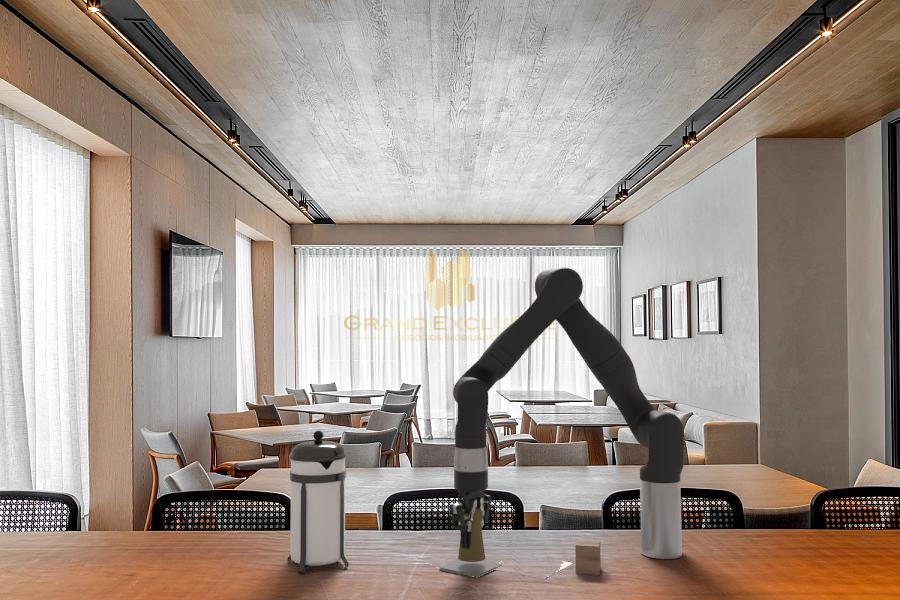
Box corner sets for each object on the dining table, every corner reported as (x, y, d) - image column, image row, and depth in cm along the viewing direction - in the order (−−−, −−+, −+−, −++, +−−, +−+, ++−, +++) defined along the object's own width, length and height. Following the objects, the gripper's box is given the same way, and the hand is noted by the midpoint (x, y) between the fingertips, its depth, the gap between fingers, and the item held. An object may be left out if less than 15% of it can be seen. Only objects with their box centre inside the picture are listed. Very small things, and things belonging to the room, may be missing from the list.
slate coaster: (464, 559, 175) (464, 556, 175) (502, 566, 170) (502, 563, 170) (439, 570, 167) (439, 567, 167) (478, 578, 161) (478, 575, 161)
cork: (483, 562, 165) (482, 511, 166) (455, 561, 166) (455, 510, 167) (487, 554, 171) (486, 505, 171) (460, 553, 172) (460, 504, 173)
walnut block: (577, 566, 170) (577, 539, 170) (600, 568, 168) (600, 540, 169) (575, 573, 165) (575, 545, 165) (599, 575, 164) (598, 546, 164)
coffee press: (366, 559, 175) (366, 428, 177) (326, 579, 161) (327, 436, 163) (303, 551, 183) (304, 424, 184) (260, 569, 168) (261, 432, 170)
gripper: (467, 473, 161) (468, 556, 161) (501, 464, 173) (502, 541, 172) (438, 470, 166) (439, 551, 165) (474, 461, 177) (474, 536, 177)
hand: (471, 545), depth 169 cm, fingers closed on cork, 4 cm apart
